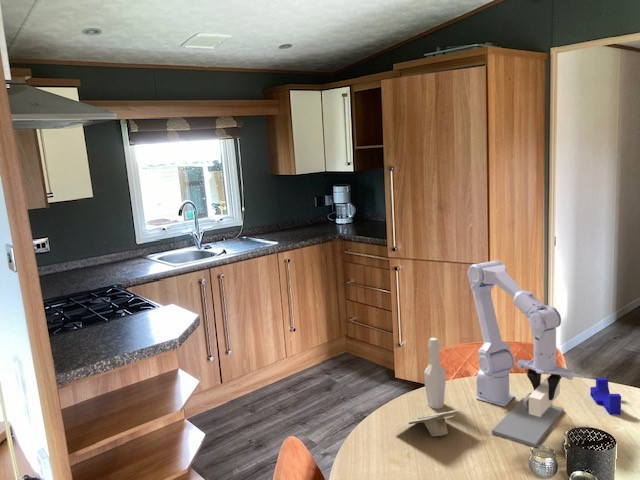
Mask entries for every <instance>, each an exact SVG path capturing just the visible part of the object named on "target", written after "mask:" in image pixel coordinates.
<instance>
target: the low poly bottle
mask: <svg viewBox="0 0 640 480" xmlns="http://www.w3.org/2000/svg"><path fill="white" fill-rule="evenodd" d="M427 349H428V359H429V362H428V363H429V364H428V366H427V367H426V369H425V370H424V372H423V374H424V376H423V377H424V387H425V393H426V399H427V404H428V405H427V406H428V407H430V408H432V409H438V410H439V409H441V408H443V407H444V403H445V393H446V380H447V379H446V370H445V368H444V367H443V366H442V365H441V364H440V355H439V354H440V342H439V340H438V338H436V337H430V338H429V340H428V344H427Z"/></svg>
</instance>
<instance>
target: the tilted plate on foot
mask: <svg viewBox="0 0 640 480" xmlns="http://www.w3.org/2000/svg"><path fill="white" fill-rule="evenodd" d="M462 410H463V409H462V408H461V409H454V410H450V411H445V412H444V411H443V412H438V413H433V414H427V415H425V416H421V417H418V418H417V419H411V420H406V421H403V422H400V423H395V424H392V425H391V426H392V427H393V426H397V425H398V426H399V425H403V424H404V425H405V424H408V425H414V424H419V423H420V424H421V423H424V425H425V427H426V428H427V430H428V432H429V435H430V436H431V437H432V438H433V437H441V436H445V435H449V433H448V432H449V431H448V428H447V423H446V419H450V418H452V417H453V418H454V417H455V416H456V414H455V413H456V412H458V411H462Z"/></svg>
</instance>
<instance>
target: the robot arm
mask: <svg viewBox="0 0 640 480" xmlns="http://www.w3.org/2000/svg"><path fill="white" fill-rule="evenodd" d="M466 274H467V278H468V281H469V286H470V290H471V292H472V295H473V301H474V303H475V307H476V309H475V310H476V314H477V317H478V322H479V326H480V330H481V335H482V340H483V345H482V346H480V348H479V349H478V351H477V352H478V366H479V368H480V369H479V370H478V372H477V376H476V397H475V398H476V400H479V401H484V402H487V403H491V404H493V405H498V406H501V407H506V406H507V405H508V404H509V403H510V402H511V401H512V400H513V399H514V398H515V394H511V393H510V373H511V372H512V369H513V368H514V367H515V363H516V365H517V368H516V369H524V370H525V369H526V370H528V371H527V373H526V376H527V378H528V379H529V382H530V384H531V385H532V387H533V392H534V391H535V389H536V388H537V387H538V386H539V385H540V384H541V383H542V382H541V380H542V375H545V374H547V375H551V376H549V377H548V385H549V400H552V399H553V398H554V394H555V390H556V387H557V385H558V383H559V381H560V382H561V380H562V378H564V379H567V380H569V381H572V380H573V379H574V375H575V373H574V370H571V369H568V368H565V367H562V366H560V365H557V328H559V327H560V325H561V324H562V317H561V314H560V312H559V311H558V310H557V308H555V307H554V306H549V305H548V304H547V305H545V304H544V303H543V302H542V301H541V300H540V299H539V298H538V297H536V296H535V294H534V293H533V292H532V291H531V290H523V289H522V288H521V287H520V286H519V284H518V283H517V282H516V281H515V280H514V279H513V278H512V277H511V276H510V274H509V273H508V270H507V265H505V264H504V263H503V262H502V261H500V259H499V260H498V259H494V260H491V261H486V262H481V263H473V264H471V265H470V266H469V268H468V270H467V273H466ZM495 286H498V287H500V289H501V290H503V291H504V292H505V293H506V294H508V295H509V296H510V297H511V298H512V299H513V305H514V306H515V307H516V308H517V309H518V310H519V311H520V313H522V314H523V315H524V316H525V317H526V318H527V320H528V324H529V327H530V329H531V335H532V337H533V352H532V353H533V360H526V359H519V360H518V361H517V362H516V360H515V356H514V353H513V352H512V350H511V348H510V347H511V346H510V345H509V344H508V343H506V342H504V341H502V337H501V333H500V328H499V324H498V320H497V315H496V311H495V307H494V301H493V297H492V294H491V292H492V290H493V288H494V287H495Z"/></svg>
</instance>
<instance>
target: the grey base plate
mask: <svg viewBox="0 0 640 480" xmlns="http://www.w3.org/2000/svg"><path fill="white" fill-rule="evenodd" d="M532 393H533V392H532ZM532 393H531V392H529V393H528V394H527V395H526V396H525V397H522V398H521V399H520V400H519V401H518V403H516V405H515V406H514V407H513V408H512V409H511V410H510V411H509V412H508V413H507V414H506V415H505V416H504V417H503V418H502V419H501V420H500V422H498V423H497V425H496V426H494V427H493V429H492V430H491V434H493V435H494V436H498V437H501V438H504V439H507V440H511V441H514V442H518V443H521V444H522V445H527V446H530V447H533V448H536V447H537V446H538V445H539V444H540V442H541V441H542V440H543V438H544V437H545V436H546V434H547V433H548V432H549V431H550V429H551V428H552V427H553V426H554V424H555V423H556V421H558V419H559V418H560V417H561V415H562V414H563V413H564V411H565V409H564V407H561V406H557V405H553V402H552V403H551V404H550V406H549V407H548V408H547V409H546V411H545V412H544V413H543V414H542V415H541V417H538V416H535V415H531V414H529V396H530V395H531V394H532Z"/></svg>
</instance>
